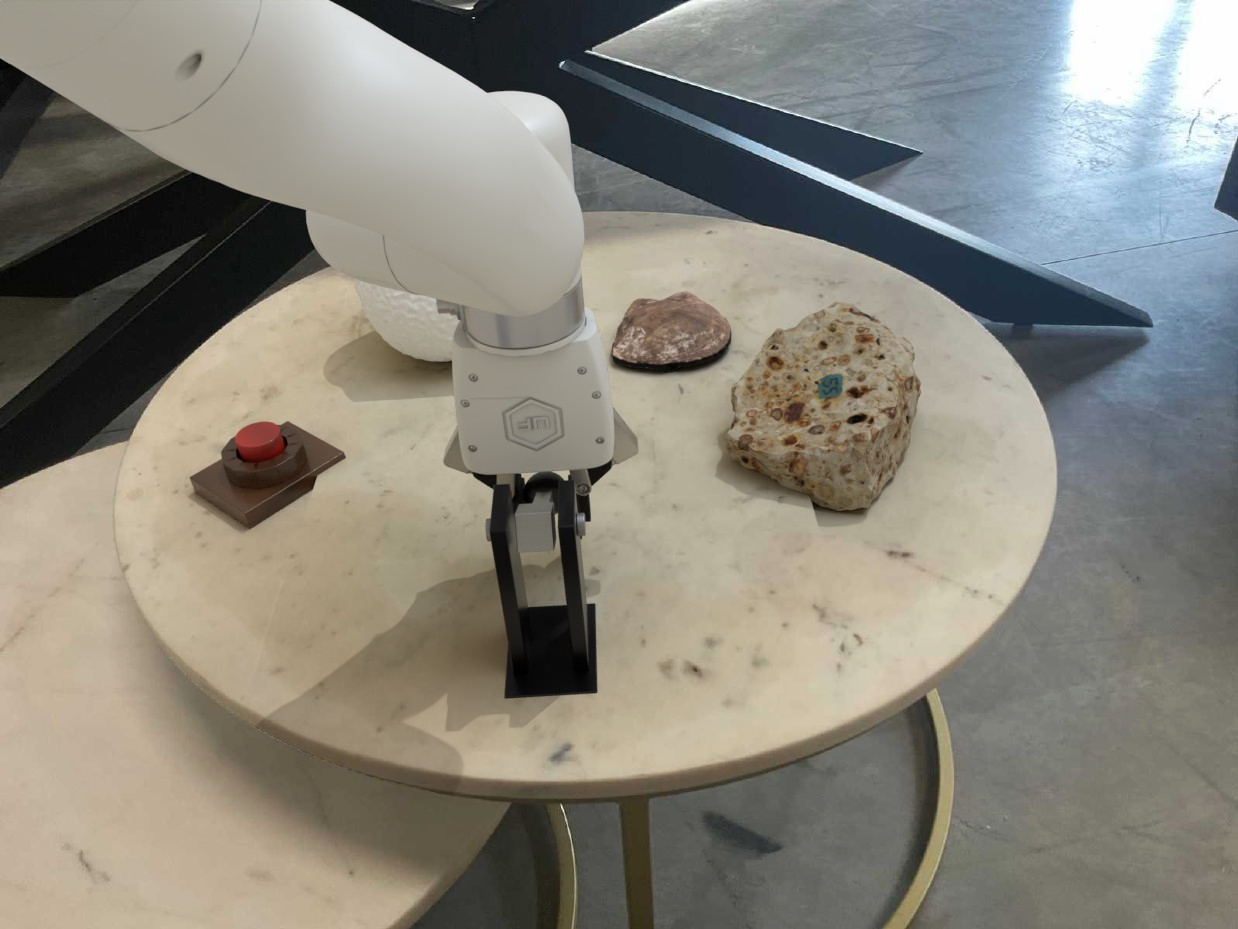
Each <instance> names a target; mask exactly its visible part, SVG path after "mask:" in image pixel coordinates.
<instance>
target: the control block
mask: <svg viewBox="0 0 1238 929" xmlns="http://www.w3.org/2000/svg"><path fill="white" fill-rule="evenodd" d="M277 425H278V426H279V428H280V431H281V434H282V438H283V441H284V444H285V449H284V451H283V453H281V454H280V455H278V456H276V457H275V458H273V459H271V460H267V461H263V462H259V463H249V462H245V461H243V460H242V458H241V456H240V453H239V450H238V447H237V444H236V441H235V436H233V437H232V438H230V439H229V440H228V442H227V443H226V444H225V445H224V446H223V448H222V449H221V451H220V457H221V458H220V459H218V460H217V461H215V462H213V463H211V464H210V465H208V466H206V467H204V468H203V469H201V470H198V472H196V473H194V474H192V475H190V476H189V480H190V483H191V486H192V488H193V491H194V493H195V494H197V495H198V496H200V497H201V498H202V499H204V500H206V501H207V502H208V503H210V504H212V505H213V506H215V507H216V508H218V509H219V510H221V511H222V512H223V513H225V514H226V515H228V516H230V517H231V518H232V519H233V520H235V521H237V522H238V523H240V524H241V525H243V526H244V527H246V528H247V529H249V530H251V529H253V528H255V527H256V526H257V525H259V524H261V523H263V522H264V521H266V520H267V519H269V518H270V517H272V516H274V515H275V514H277V513H279V512H280V511H282V510H284V508H286V507H288V506H289V505H291V504H293V503H294V502H296V501H297V500H299V499H300V498H302V497H304V496H305V495H307V494H309V493H310V492H312V491H313V490H314V487H315V485H316V483H317V482H316V481H317V478H318V476H320V475H322V473H324V472H325V471H327V470H329V469H330V468H332V467H334V466H335V465H337V464H338V463H340V462H341V461H343V460H345V459H346V454H345V451H343V450H341V449H339V448H338V447H336V446H334V445H332V444H331V443H329V442H327V441H325V440H323V439H322V438H320V437H317V436H316V435H314V434H312V433H311V432H309V431H307V430H305V429H303V428H302V427H300V426H298V425H296V424H294V423H293V422H290V421H289V420H286V421H284V422H283V423H282V424H277Z"/></svg>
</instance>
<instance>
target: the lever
mask: <svg viewBox="0 0 1238 929" xmlns="http://www.w3.org/2000/svg"><path fill="white" fill-rule="evenodd" d="M563 480H565V479H564V477H562V476H561V475H560V474H559V473H556V472H555V471H550V472H535V473H533V474H532V475H531V476H530V477H529V478H528V480H527V481H526V482H525V487H524V500H525V503H526V504H519V505H518V507H517V510H516V512H515V528H516V540H517V552H518V553H520V554H523V553H543V552H554V551H555V549H556V548H555V547H556V543H557V527H556V515H558V488H559V481H563Z"/></svg>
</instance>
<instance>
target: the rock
mask: <svg viewBox="0 0 1238 929" xmlns="http://www.w3.org/2000/svg"><path fill="white" fill-rule="evenodd" d="M915 354H916V353H915V351H914V346H913V344H912V342H910V341H909V340H908V339H907V338H906V337H904V336H901V335H899V333H898V332H897V331H896V330H894V329H892V328H891V327H890V326H889V325H888V324H887V323H885V322H884V321H881V320H880V319H878V318H874V317H872V316H871V315H869V314H868V313H866V312H863V311H861V310H860V309H859V308H857V307H856V306H855V305H854V304H853V303H852V302H845V301H839V300H836V301H835V302H833V303H831V304H830V305H828V306H826V308H822V309H821V310H819V311H817V312H816V311H815V312H813V313H809V314H808V315H806V316H804V318H801V320H800V321H799V322H798V324H797V325H796V326H794V327H789V328H787V329H783V328H779V327H777V328H776V329H775V330H774V331H773V333H771V335H770V336H769V337H768V338H767V339H766V340H765V341H764V342H763V344H762V346H761V350H760V351H759V353H757V355H756V356H755V358H754V359H753V361H752V363H751V365H750V366H749V368H748V369H747V370H746V371H745V372H744V373H743V374H742V376H741V377H740V379H739V380H738V381H736V382H735V383H734V384H733V385H732V386H731V388H730V389H731V390H730V392H731V394H730V395H731V396H730V402H731V405H732V412H734V416H733V419H732V422H731V424H730V426H729V429H728V430H727V432H726V433H725V436H724V438H723V439H724V442H725V448H726V450H727V452H728V455H729V457H730V459H731V460H733V461H735V463H738V464H739V465H740V466H742V467H743V468H745V469H748V470H755V471H758V472H759V473H760V474H763V475H766V476H768V477H770V479H771V480H775V481H777V482H778V484H779V485H780V486H782V487H784V488H787V489H789V490H793V491H796V492H801V493H803V494H807V495H808V496H809V498H810V501H811V502H813V503H814V504H816V505H817V506H819V507H822V508H827V509H831V510H834V511H838V512H842V511H846V510H847V511H853V510H859V509H869V508H871V507H872V502H874V500H875V499H876V498H877V497H878V496H880V495H881V493H882V492H883V489H884V488H885V485H886V484H887V483H888V482H889V480H891V479H892V478H894V477H895V476H896V474H897V470H898V465H899V462H900V461H901V460H902V458H903V457H904V456H905V455H906V454H907V452H908V450H909V447H910V445H911V434H912V433H911V430H912V425H913V422H914V420H915V418H916V417H917V416H916V415H917V412H918V408H917V405H918V402H919V399H920V397H921V395H922V389H921V386H922V382H921V380H920V378H919V377H918V375H917V374H916V371H915V369H914V361H915V357H916V356H915Z"/></svg>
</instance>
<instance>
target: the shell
mask: <svg viewBox="0 0 1238 929" xmlns="http://www.w3.org/2000/svg"><path fill="white" fill-rule="evenodd" d="M615 335H616V336H615V340H614V341H613V343H612V345H611V357H612V361H613V362H614V363H616V364H618V365H622V366H625V367H629V368H632V369H633V368H634V369H649V370H659V371H663V373H668V372H669V373H673V372H676V371H678V370H679V368H689V367H695V366H700V365H703V364H706V363H708V362H712V361H714V360H717V359H718V358H719V357H722V356H723V355H725V353H726V352H727V350H728V348H729V346H731V343H732V326H731V325H730V322H729V320H727V318H725V317H724V316H723V315H722V314H721V313H720V312H719V311H718V310H717V309H716V308H715V307H713V305H711V304H709V303H707V302H705V301H704V300H702V299H701V298H699V297H698V296H697V295H695V294H694V293H692V292H690V291H689V290H688V291H687V290H685V291H680V292H679V291H678V292H675V293H673V294H672V295H670V296H668V297H665V298H664V299H655V298H645V297H640V298H636V299H635V300H633V301H632V302H631V303H630V305H629V306H628V307H627V310H626V311H625V313H624V316H623V318H622V321H621V322H620V323H619V325H618V326H617V328H616V334H615Z"/></svg>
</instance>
